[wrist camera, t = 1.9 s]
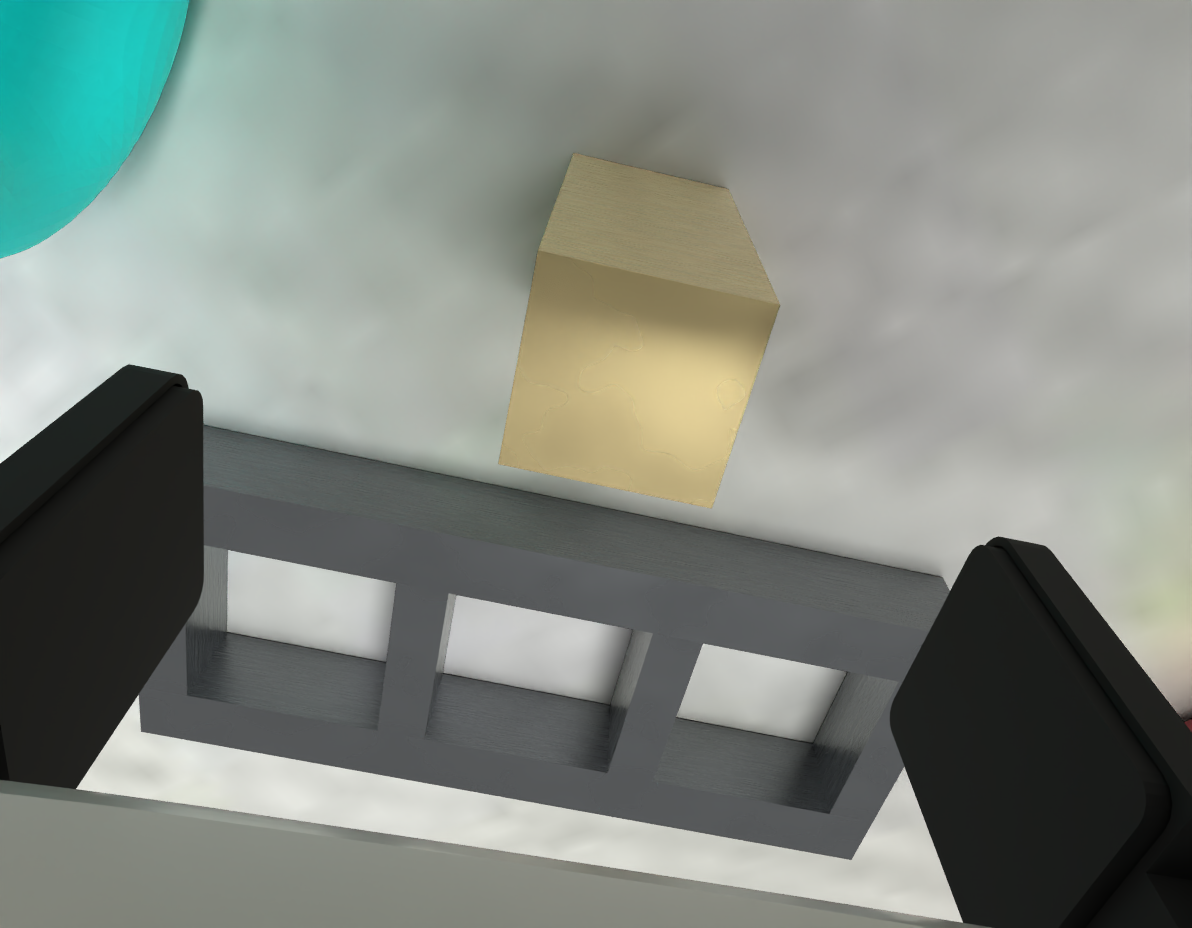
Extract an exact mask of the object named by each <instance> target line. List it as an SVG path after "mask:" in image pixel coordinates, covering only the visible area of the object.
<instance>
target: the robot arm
mask: <svg viewBox="0 0 1192 928" xmlns="http://www.w3.org/2000/svg"><path fill="white" fill-rule="evenodd" d="M203 583H204V482H203V399H202V396H201V393H200V392H199V391H197V390H192V389H189V388H188V384H187V381H186V379H185V377H184V376H183V375H181V374H176V373H170V372H165V371H160V370H155V369H150V368H145V367H140V366H135V365H127V366H124V367H123V368H121V369H120V370H119V371H117V372H116V373H115V374H114V375H112V376H111V377H110V378H109V379H107V380H106V381H105V382H103V383H102V384H101V385H100V386H98V387H97V388H96V389H95V390H93V391H92V392H91V393H89V394H88V395H87V396H86V397H84V398H83V399H82V400H81V401H79V402H78V403H77V404H76V405H74V406H73V407H72V408H70V409H69V410H68V411H67V412H65V413H64V414H63V415H62V416H60V417H59V418H58V419H56V420H55V421H54V422H53V423H51V424H50V425H49V426H48V427H46V428H45V429H44V430H43V431H41V432H40V433H39V434H37V435H36V436H35V437H34V438H32V439H31V440H30V441H29V442H27V443H26V444H25V445H23V446H22V447H21V448H20V449H18V450H17V451H16V452H15V453H13V454H12V455H11V456H9V457H8V458H7V459H6V460H4V461H3V462H2V463H1V464H0V928H1192V732H1191V731H1190V729H1189V728H1188V727H1187V725H1186V724H1185V723H1184V722H1183V720H1182V719H1181V718H1180V716H1179V715H1178V714H1177V713H1176V711H1175V710H1174V709H1173V707H1172V706H1171V705H1170V704H1169V702H1168V701H1167V700H1166V698H1165V697H1164V696H1163V695H1162V693H1161V692H1160V691H1159V689H1158V688H1157V687H1156V685H1155V684H1154V683H1153V682H1152V680H1151V679H1150V678H1149V676H1148V675H1147V674H1146V673H1145V671H1144V670H1143V669H1142V667H1141V666H1140V665H1139V664H1138V662H1137V661H1136V660H1135V658H1134V657H1133V656H1132V655H1131V653H1130V652H1129V651H1128V649H1127V648H1126V647H1125V646H1124V644H1123V643H1122V642H1121V640H1120V639H1119V638H1118V637H1117V635H1116V634H1115V633H1114V631H1113V630H1112V629H1111V628H1110V626H1109V625H1108V624H1107V622H1106V621H1105V620H1104V619H1103V617H1102V616H1101V615H1100V613H1099V612H1098V611H1097V609H1096V608H1095V607H1094V606H1093V604H1092V603H1091V602H1090V600H1089V599H1088V598H1087V597H1086V595H1085V594H1084V593H1083V591H1082V590H1081V589H1080V588H1079V586H1078V585H1077V584H1076V582H1075V581H1074V580H1073V579H1072V577H1071V576H1070V575H1069V573H1068V572H1067V571H1066V570H1065V568H1064V567H1063V566H1062V564H1061V563H1060V562H1059V561H1058V559H1057V558H1056V557H1055V555H1054V554H1053V553H1052V552H1051V550H1049V549H1048V548H1047V547H1046V546H1043V545H1039V544H1034V543H1029V542H1024V541H1019V540H1014V539H1009V538H1004V537H996V538H993V539H991V540H990V541H989V542H988V543H987V544H986V545H979V546H977V547H975V548H974V549H973V550H972V552H971V553H970V555H969V556H968V558H967V560H966V562H965V564H964V566H963V568H962V570H961V572H960V573H959V575H958V577H957V579H956V581H955V583H954V585H953V587H952V589H951V591H950V593H949V594H948V596H947V598H946V600H945V602H944V604H943V606H942V608H941V610H940V612H939V614H938V616H937V617H936V619H935V621H934V623H933V625H932V627H931V629H930V631H929V633H928V635H927V637H926V638H925V640H924V642H923V644H922V646H921V648H920V650H919V652H918V654H917V656H916V658H915V660H914V661H913V663H912V665H911V667H910V669H909V671H908V673H907V675H906V677H905V679H904V681H903V682H902V684H901V686H900V688H899V690H898V692H897V694H896V696H895V698H894V700H893V702H892V705H891V710H890V727H891V731H892V734H893V737H894V740H895V742H896V745H897V748H898V750H899V753H900V756H901V758H902V761H903V764H904V766H905V769H906V772H907V774H908V777H909V780H910V782H911V785H912V788H913V790H914V793H915V796H916V798H917V801H918V804H919V806H920V809H921V812H922V814H923V817H924V820H925V822H926V825H927V828H928V830H929V833H930V836H931V838H932V841H933V843H934V846H935V849H936V851H937V854H938V857H939V859H940V862H941V865H942V867H943V870H944V873H945V875H946V878H947V881H948V883H949V886H950V889H951V891H952V894H953V897H954V899H955V902H956V905H957V907H958V910H959V913H960V915H961V918H962V921H963V923H960V922H954V921H948V920H941V919H935V918H929V917H923V916H916V915H910V914H904V913H898V912H891V911H885V910H879V909H873V908H866V907H860V906H854V905H848V904H841V903H835V902H829V901H823V900H816V899H810V898H804V897H797V896H791V895H784V894H778V893H771V892H765V891H759V890H752V889H746V888H739V887H733V886H726V885H720V884H713V883H707V882H701V881H694V880H688V879H681V878H675V877H668V876H662V875H655V874H649V873H642V872H636V871H629V870H623V869H616V868H610V867H603V866H597V865H590V864H584V863H577V862H570V861H564V860H557V859H551V858H544V857H538V856H531V855H525V854H518V853H512V852H505V851H499V850H492V849H485V848H479V847H472V846H465V845H459V844H452V843H445V842H438V841H432V840H425V839H418V838H411V837H405V836H398V835H391V834H384V833H378V832H371V831H364V830H357V829H351V828H344V827H337V826H330V825H324V824H317V823H310V822H303V821H297V820H290V819H283V818H276V817H270V816H263V815H256V814H249V813H243V812H236V811H229V810H222V809H216V808H209V807H202V806H195V805H187V804H180V803H173V802H165V801H158V800H151V799H143V798H136V797H129V796H121V795H114V794H107V793H99V792H92V791H84V790H77V789H76V788H77V786H78V785H79V783H80V782H81V780H82V779H83V777H84V776H85V774H86V773H87V771H88V770H89V768H90V767H91V765H92V764H93V762H94V761H95V759H96V758H97V756H98V755H99V753H100V752H101V750H102V749H103V747H104V746H105V744H106V743H107V741H108V740H109V738H110V737H111V735H112V734H113V732H114V731H115V729H116V728H117V726H118V725H119V723H120V722H121V720H122V719H123V717H124V716H125V714H126V713H127V711H128V710H129V708H130V707H131V705H132V704H133V702H134V701H135V699H136V698H137V696H138V695H139V693H140V692H141V690H142V689H143V687H144V685H145V684H146V682H147V681H148V679H149V678H150V676H151V675H152V673H153V672H154V670H155V669H156V667H157V666H158V664H159V663H160V661H161V660H162V658H163V657H164V655H165V654H166V652H167V651H168V649H169V648H170V646H171V645H172V643H173V642H174V640H175V639H176V637H177V636H178V634H179V633H180V631H181V630H182V628H183V627H184V625H185V624H186V622H187V621H188V619H189V618H190V616H191V615H192V613H193V612H194V610H195V608H196V606H197V604H198V602H199V599H200V596H201V593H202V589H203Z"/></svg>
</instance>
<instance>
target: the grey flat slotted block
mask: <svg viewBox="0 0 1192 928" xmlns="http://www.w3.org/2000/svg"><path fill="white" fill-rule="evenodd" d="M203 482H204V583H203V589H202V593H201V596H200V599H199V602H198V604H197V606H196V608H195V610H194V612H193V613H192V615H191V616H190V618H189V619H188V621H187V622H186V624H185V625H184V627H183V628H182V630H181V631H180V633H179V634H178V636H177V637H176V639H175V640H174V642H173V643H172V645H171V646H170V648H169V649H168V651H167V652H166V654H165V655H164V657H163V658H162V660H161V661H160V663H159V664H158V666H157V667H156V669H155V670H154V672H153V673H152V675H151V676H150V678H149V679H148V681H147V682H146V684H145V685H144V687H143V689H142V690H141V692H140V693H139V704H140V721H141V732H146V733H152V734H157V735H163V736H168V737H174V738H180V739H185V740H191V741H196V742H202V743H207V744H213V745H218V746H224V747H229V748H235V749H240V750H246V751H252V752H257V753H263V754H268V755H274V756H279V757H285V758H290V759H296V760H301V761H307V762H312V763H318V764H323V765H329V766H335V767H340V768H346V769H351V770H357V771H362V772H368V773H373V774H379V775H384V776H390V777H395V778H401V779H407V780H412V781H418V782H423V783H429V784H434V785H440V786H445V787H451V788H456V789H462V790H467V791H473V792H478V793H484V794H490V795H495V796H501V797H506V798H512V799H517V800H523V801H528V802H534V803H539V804H545V805H550V806H556V807H562V808H567V809H573V810H578V811H584V812H589V813H595V814H600V815H606V816H611V817H617V818H622V819H628V820H633V821H639V822H645V823H650V824H656V825H661V826H667V827H672V828H678V829H683V830H689V831H694V832H700V833H705V834H711V835H716V836H722V837H728V838H733V839H739V840H744V841H750V842H755V843H761V844H766V845H772V846H777V847H783V848H788V849H794V850H800V851H805V852H811V853H816V854H822V855H827V856H833V857H838V858H844V859H849V860H851V859H852V858H853V856H854V854H855V852H856V851H857V849H858V847H859V845H860V844H861V842H862V840H863V838H864V837H865V835H866V833H867V831H868V829H869V828H870V826H871V824H872V822H873V821H874V819H875V817H876V815H877V814H878V812H879V810H880V808H881V807H882V805H883V803H884V801H885V799H886V798H887V796H888V794H889V792H890V791H891V789H892V787H893V785H894V784H895V782H896V780H897V778H898V776H899V775H900V773H901V771H902V769H903V768H904V764H903V761H902V758H901V756H900V753H899V750H898V748H897V745H896V742H895V740H894V737H893V734H892V731H891V727H890V710H891V705H892V702H893V700H894V698H895V696H896V694H897V692H898V690H899V688H900V686H901V684H902V682H903V681H904V679H905V677H906V675H907V673H908V671H909V669H910V667H911V665H912V663H913V661H914V660H915V658H916V656H917V654H918V652H919V650H920V648H921V646H922V644H923V642H924V640H925V638H926V637H927V635H928V633H929V631H930V629H931V627H932V625H933V623H934V621H935V619H936V617H937V616H938V614H939V612H940V610H941V608H942V606H943V604H944V602H945V600H946V598H947V596H948V594H949V593H950V591H949V589H948V587H947V585H946V583H945V581H944V579H943V578H942V577H937V576H932V575H927V574H922V573H918V572H913V571H908V570H903V569H898V568H893V567H888V566H884V565H879V564H874V563H869V562H864V561H859V560H855V559H850V558H845V557H840V556H835V555H830V554H825V553H821V552H816V551H811V550H806V549H801V548H796V547H791V546H787V545H782V544H777V543H772V542H767V541H762V540H757V539H753V538H748V537H743V536H738V535H733V534H728V533H723V532H719V531H714V530H709V529H704V528H699V527H694V526H690V525H685V524H680V523H675V522H670V521H665V520H660V519H656V518H651V517H646V516H641V515H636V514H631V513H626V512H622V511H617V510H612V509H607V508H602V507H597V506H592V505H588V504H583V503H578V502H573V501H568V500H563V499H559V498H554V497H549V496H544V495H539V494H534V493H529V492H525V491H520V490H515V489H510V488H505V487H500V486H495V485H491V484H486V483H481V482H476V481H471V480H466V479H461V478H457V477H452V476H447V475H442V474H437V473H432V472H428V471H423V470H418V469H413V468H408V467H403V466H398V465H394V464H389V463H384V462H379V461H374V460H369V459H364V458H360V457H355V456H350V455H345V454H340V453H335V452H330V451H326V450H321V449H316V448H311V447H306V446H301V445H296V444H292V443H287V442H282V441H277V440H272V439H267V438H263V437H258V436H253V435H248V434H243V433H238V432H233V431H229V430H224V429H219V428H214V427H209V426H204V425H203ZM227 550H231V551H236V552H241V553H246V554H251V555H256V556H262V557H267V558H272V559H277V560H282V561H287V562H292V563H297V564H302V565H307V566H312V567H318V568H323V569H328V570H333V571H338V572H343V573H348V574H353V575H358V576H363V577H368V578H374V579H379V580H384V581H389V582H394V583H397V584H396V591H395V599H394V607H393V615H392V622H391V630H390V638H389V646H388V653H387V661H386V663H384V662H379V661H373V660H368V659H363V658H357V657H352V656H347V655H342V654H336V653H331V652H326V651H321V650H315V649H310V648H305V647H300V646H294V645H289V644H284V643H278V642H273V641H268V640H263V639H257V638H252V637H247V636H242V635H236V634H231V633H227ZM456 595H460V596H465V597H470V598H475V599H480V600H485V601H491V602H496V603H501V604H506V605H511V606H516V607H521V608H526V609H531V610H536V611H541V612H547V613H552V614H557V615H562V616H567V617H572V618H577V619H582V620H587V621H592V622H597V623H603V624H608V625H613V626H618V627H623V628H628V629H633V633H632V636H631V639H630V642H629V646H628V649H627V652H626V655H625V659H624V662H623V665H622V668H621V672H620V675H619V678H618V681H617V685H616V688H615V691H614V694H613V698H612V701H611V704H610V705H605V704H600V703H595V702H589V701H584V700H579V699H573V698H568V697H563V696H558V695H552V694H547V693H542V692H537V691H531V690H526V689H521V688H516V687H510V686H505V685H500V684H494V683H489V682H484V681H479V680H473V679H468V678H463V677H458V676H452V675H447V674H443V668H444V663H445V657H446V651H447V645H448V639H449V634H450V628H451V622H452V616H453V611H454V605H455V599H456ZM703 643H704V644H709V645H714V646H720V647H725V648H730V649H735V650H740V651H745V652H750V653H755V654H760V655H765V656H770V657H776V658H781V659H786V660H791V661H796V662H801V663H806V664H811V665H816V666H821V667H826V668H832V669H837V670H842V671H847V672H848V673H847V675H846V677H845V679H844V681H843V683H842V685H841V687H840V689H839V691H838V693H837V695H836V697H835V700H834V702H833V704H832V706H831V708H830V710H829V712H828V714H827V716H826V718H825V720H824V722H823V724H822V726H821V729H820V731H819V733H818V735H817V737H816V739H815V741H814V743H813V744H811V743H805V742H800V741H795V740H789V739H784V738H779V737H774V736H768V735H763V734H758V733H753V732H747V731H742V730H737V729H731V728H726V727H721V726H716V725H710V724H705V723H700V722H695V721H689V720H684V719H679V718H676V716H677V713H678V710H679V708H680V705H681V702H682V699H683V697H684V694H685V691H686V688H687V686H688V683H689V680H690V677H691V675H692V672H693V669H694V666H695V664H696V661H697V658H698V655H699V653H700V650H701V647H702V644H703Z"/></svg>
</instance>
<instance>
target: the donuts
mask: <svg viewBox="0 0 1192 928" xmlns="http://www.w3.org/2000/svg"><path fill="white" fill-rule="evenodd" d="M188 4H189V0H0V258H3V257H6V256H10V255H13V254H16V253H19V252H21V251H24V250H26V249H29V248H31V247H33V246H35V245H37V244H39V243H40V242H42V241H44V240H45V239H47V238H49V237H50V236H51V235H53V234H54V233H56V232H57V231H59V230H60V229H61V228H63V227H64V226H66V225H67V224H68V223H70V222H71V221H72V220H73V219H74V218H75V217H76V216H77V215H78V214H79V213H80V212H81V211H83V210H84V209H85V208H86V207H87V206H88V205H89V204H90V203H91V202H92V201H93V200H94V199H95V198H96V196H97V195H98V194H99V193H100V192H101V191H102V190H103V189H104V188H105V187H106V186H107V184H108V183H109V181H110V179H111V178H112V177H113V176H114V175H115V174H116V173H117V171H118V170H119V168H120V167H121V165H122V163H123V162H124V161H125V160H126V158H127V157H128V156H129V154H130V152H131V151H132V149H133V147H134V145H135V143H136V142H137V141H138V139H139V138H140V136H141V134H142V132H143V130H144V129H145V127H146V124H147V122H148V120H149V118H150V117H151V115H152V113H153V111H154V109H155V107H156V105H157V103H158V100H159V98H160V96H161V93H162V90H163V87H164V85H165V83H166V81H167V78H168V76H169V73H170V71H171V68H172V65H173V62H174V59H175V56H176V53H177V50H178V46H179V43H180V39H181V36H182V32H183V28H184V24H185V19H186V15H187V10H188Z"/></svg>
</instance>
